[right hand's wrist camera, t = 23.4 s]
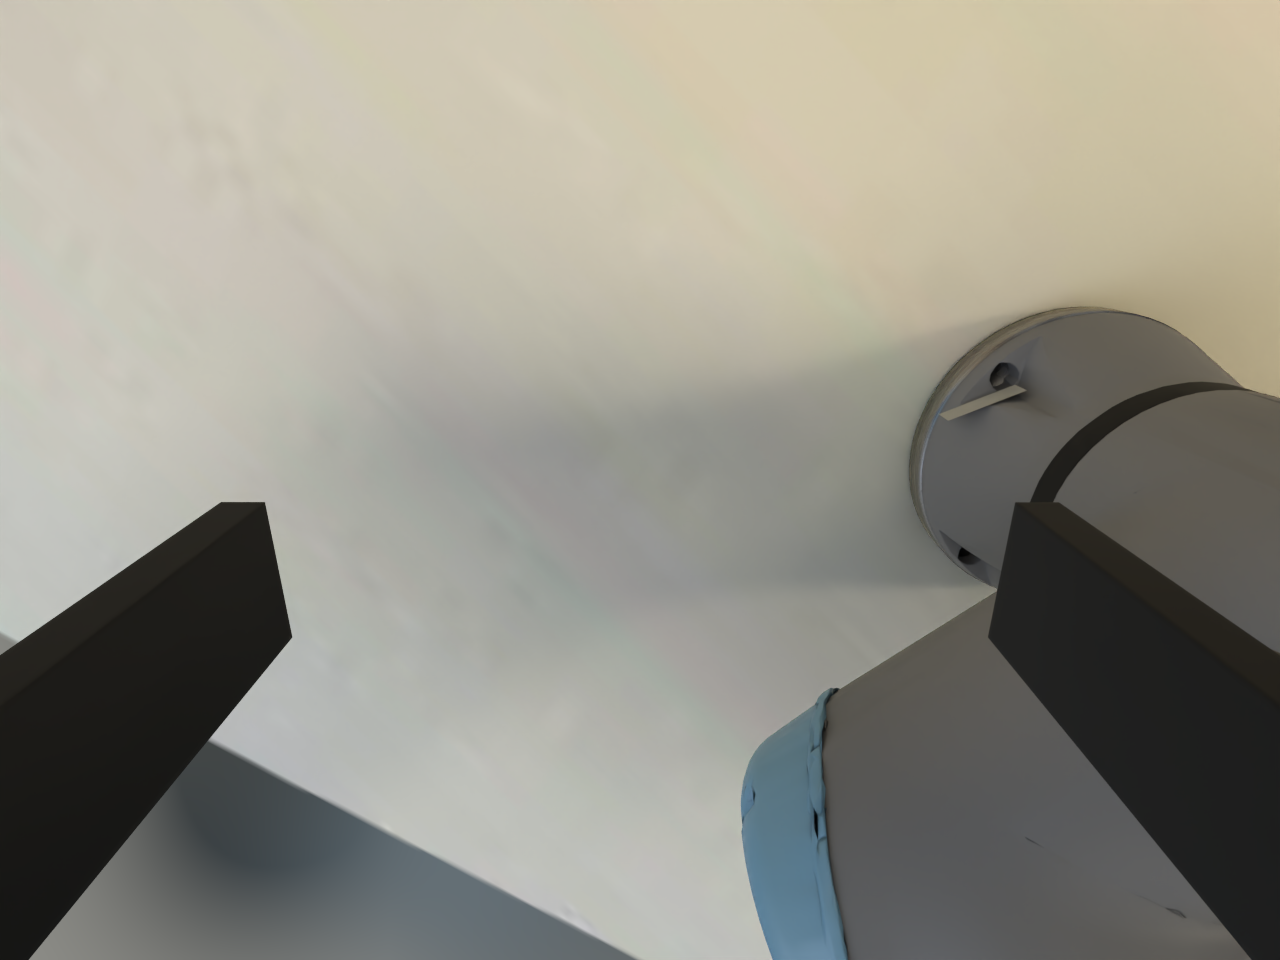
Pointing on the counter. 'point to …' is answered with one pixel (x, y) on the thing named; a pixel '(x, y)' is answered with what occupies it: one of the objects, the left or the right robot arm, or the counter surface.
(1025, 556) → the right robot arm
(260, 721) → the counter surface
